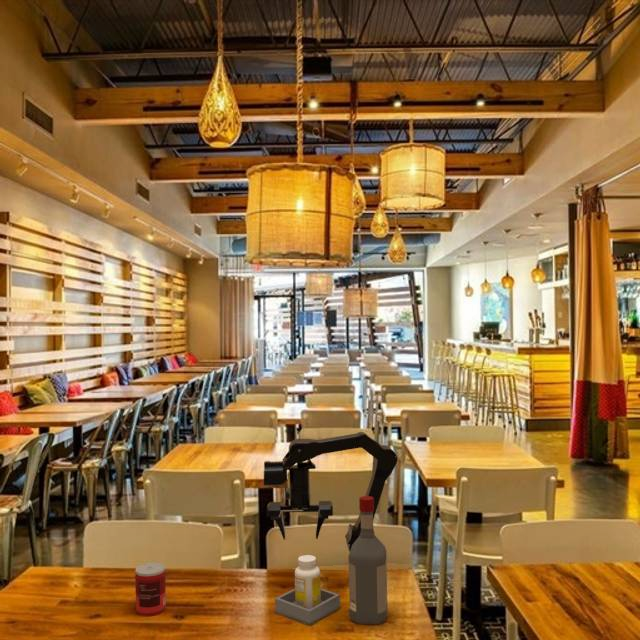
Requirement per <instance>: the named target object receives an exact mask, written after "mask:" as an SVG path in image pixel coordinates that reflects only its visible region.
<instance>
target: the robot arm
mask: <svg viewBox="0 0 640 640" xmlns="http://www.w3.org/2000/svg"><path fill="white" fill-rule="evenodd" d="M355 449H363V451H365V452H367V453H368V454H369V455H371V456H372V457H373V458H372V465H371V466H372V469H371V470H372V471H371V476H370V477H371V478H370V480H369V483H368V486H367V489H366V492H365V495H364V496H371V497H373V498H374V511H373V520H374V519H375V515H376V513H377V509H378V506H379V503H380V500H381V497H382V493H383V491H384V488H385V484H386V483H387V480H388V478H389V477H390V476H391V475H392V473H393V471H394V469H395V468H396V466H397V463H398V455H397V454H396V452H395V451H394V450H393V449H392V448H391V447H390V446H388V445H387V444H383V445H381V444H380V443H378V442H377V441H376V440H374V439H373V438H372V437H370V436H369V435H368V434H367V433H366V432H364V431H359V432H356V433H352V434H350V433H349V434H346V435H340V436H338V435H337V436H333V437H327V438H322V439H314V438H312V439H311V438H295V439H292V441H291V442H290V443H289V445H288V451H287V453H285V455H284V457H283V458H282V461H280V460H279V461H270V460H265V461H264V462H263V466H264V467H263V468H264V469H263V487H268V486H274V487H275V486H284V484H286V482H289V487H286V488H285V499H286V500H289V505H287V504H286V505H282V501H269V503H268V504H267V507H266V517H267V518H270V519H271V520H272V521H275V523H276V525H277V526H278V529H279V531H280V533H281V536H282V538H283V540H284V541H285V540H286V528H285V522H284V513H315V512H316V513H317V520H316V528H315V539H316V540H318V538H319V535H320V531H321V529H322V526H323V524H324V522H325V520H328V519H329V517H331V516H333V515H334V508H333V505H334V504H333V502H332V500H319V501H318V504H311V493H310V492H311V491H310V489H311V488H310V485H311V484H310V470H316V468H317V467H316V464H315V463H314V462H313V461H312V460H313V459H314V458H316V457H318V456H321V455H325V454H331V453H336V452H343V451H348V450H355ZM288 472H289V475H288ZM288 476H289V479H288ZM288 480H289V481H288ZM359 511H360V510H359ZM347 528H348V529H347V533H346V534H345V535H344V537H345V540H346V541H345V542H346V545H347V546H346V547H347V548H348V549H347V550H348V551H349V553H350V550H351V547H352V545H353V543H354V542H355V541H356V540H357V538H358V537H359V536H360V533H361V511H360V512H359V515H358V518H357V520H356V522H355V523H354V525H353V524H351V523H349V524H348V527H347Z"/></svg>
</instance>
